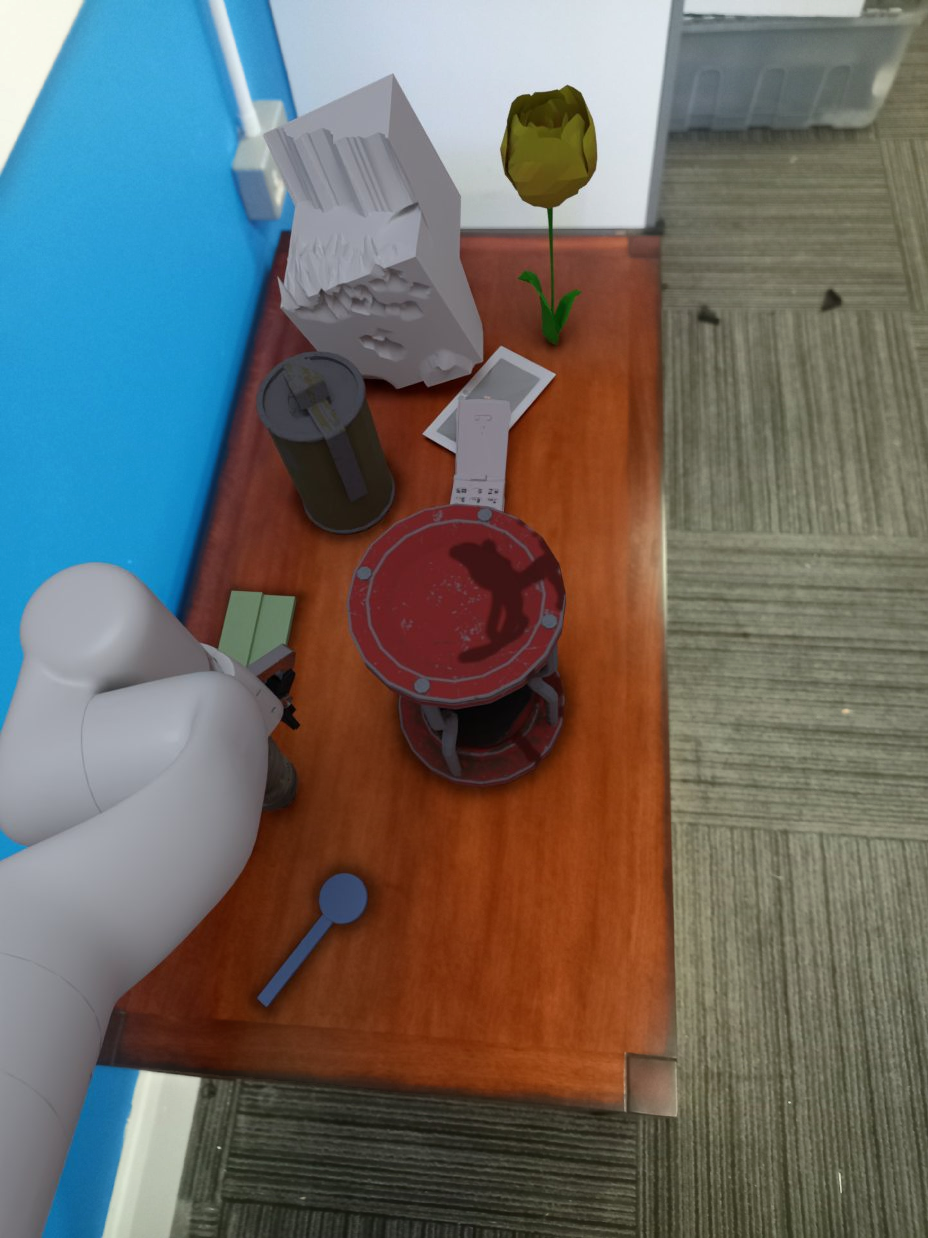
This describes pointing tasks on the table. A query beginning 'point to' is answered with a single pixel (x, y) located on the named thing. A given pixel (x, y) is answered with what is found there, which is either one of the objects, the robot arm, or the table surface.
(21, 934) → the robot arm
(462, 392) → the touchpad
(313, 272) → the grey carved stone block
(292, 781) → the grey spiral shell
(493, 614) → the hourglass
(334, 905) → the spoon
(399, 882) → the table surface
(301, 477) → the canister
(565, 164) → the flower
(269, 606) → the towel
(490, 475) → the mobile phone
